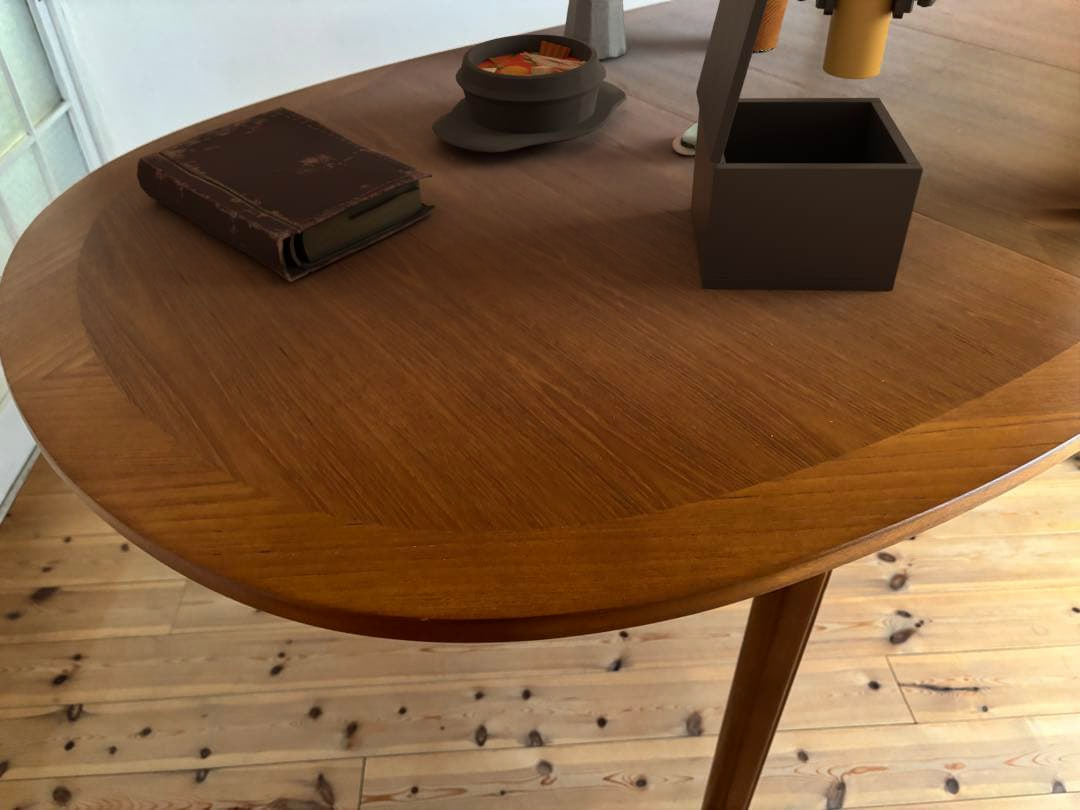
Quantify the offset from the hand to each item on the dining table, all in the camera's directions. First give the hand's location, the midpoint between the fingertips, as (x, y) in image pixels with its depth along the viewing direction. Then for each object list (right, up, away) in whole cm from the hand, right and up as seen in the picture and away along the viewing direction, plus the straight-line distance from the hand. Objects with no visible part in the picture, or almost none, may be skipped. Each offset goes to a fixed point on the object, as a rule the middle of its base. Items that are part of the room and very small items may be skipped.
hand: (865, 3), depth 71 cm
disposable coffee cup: (+5, +19, +57) cm, 61 cm away
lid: (-9, -1, +1) cm, 10 cm away
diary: (-50, -11, +22) cm, 56 cm away
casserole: (-26, +1, +37) cm, 45 cm away
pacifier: (-7, -3, +31) cm, 32 cm away
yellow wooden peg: (+1, -3, +6) cm, 7 cm away
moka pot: (-17, +18, +56) cm, 62 cm away
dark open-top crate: (-3, -16, +13) cm, 21 cm away
